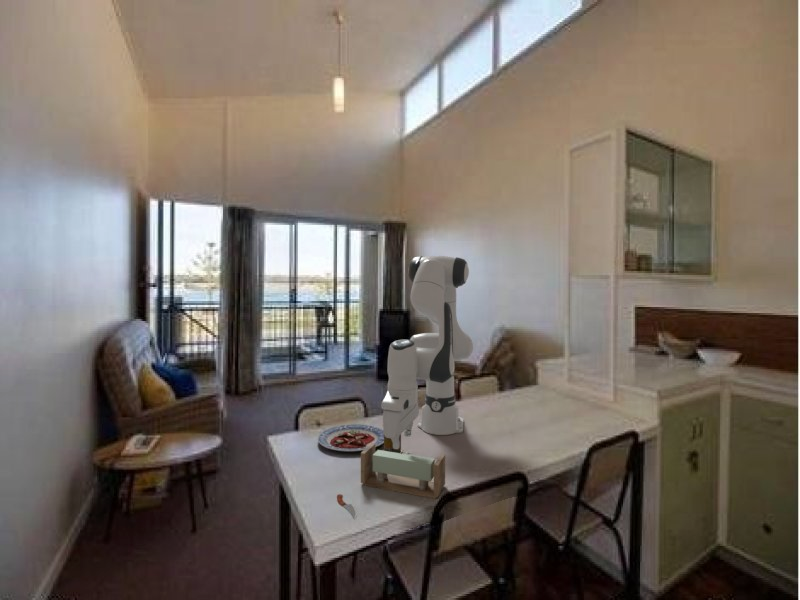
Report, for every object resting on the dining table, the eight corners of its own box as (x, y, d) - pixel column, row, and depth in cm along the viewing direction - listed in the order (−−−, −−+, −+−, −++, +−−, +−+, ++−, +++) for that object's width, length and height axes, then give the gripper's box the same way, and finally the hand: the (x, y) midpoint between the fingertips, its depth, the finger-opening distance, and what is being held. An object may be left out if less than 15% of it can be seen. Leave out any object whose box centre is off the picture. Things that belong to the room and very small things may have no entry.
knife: (364, 514, 111) (353, 518, 110) (364, 517, 111) (353, 520, 110) (342, 492, 123) (333, 495, 121) (342, 494, 123) (333, 497, 121)
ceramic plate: (376, 460, 146) (376, 451, 145) (306, 452, 151) (305, 444, 151) (394, 432, 171) (394, 425, 171) (333, 427, 176) (333, 420, 176)
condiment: (392, 446, 157) (392, 414, 156) (409, 453, 151) (409, 419, 150) (378, 452, 151) (377, 418, 151) (395, 459, 145) (395, 424, 145)
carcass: (371, 473, 135) (371, 443, 135) (445, 486, 127) (445, 454, 127) (360, 484, 128) (360, 452, 127) (437, 499, 120) (438, 465, 119)
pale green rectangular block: (378, 465, 132) (378, 449, 132) (434, 475, 126) (434, 458, 126) (372, 471, 129) (372, 454, 128) (430, 481, 122) (430, 464, 122)
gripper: (404, 385, 137) (404, 427, 138) (378, 405, 118) (378, 454, 119) (423, 387, 135) (423, 430, 136) (400, 408, 116) (400, 457, 117)
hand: (402, 441), depth 127 cm, fingers open, 8 cm apart
